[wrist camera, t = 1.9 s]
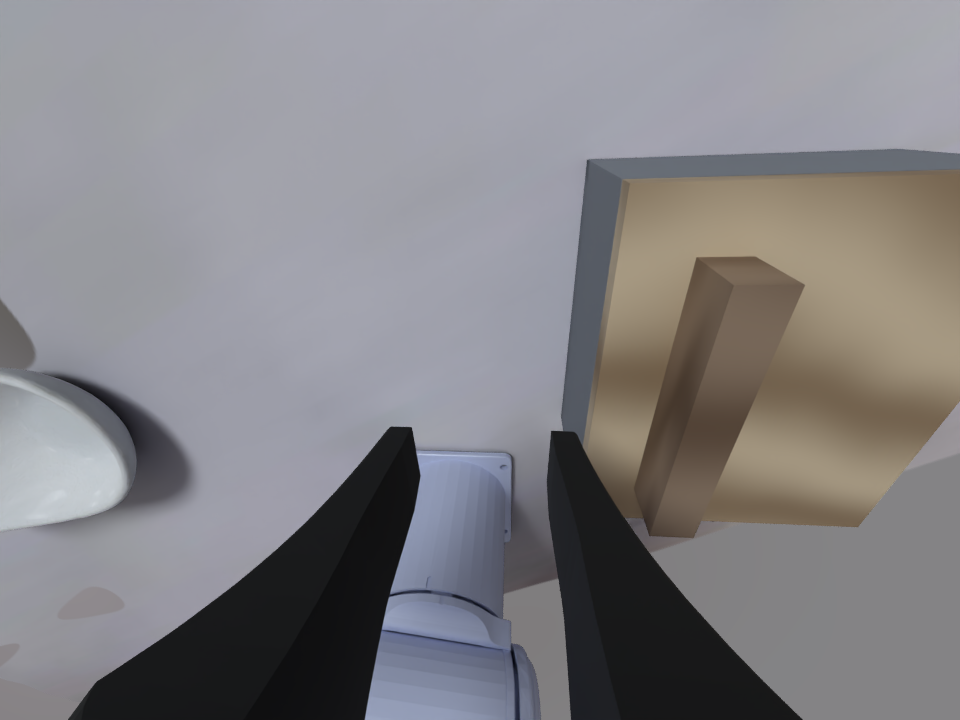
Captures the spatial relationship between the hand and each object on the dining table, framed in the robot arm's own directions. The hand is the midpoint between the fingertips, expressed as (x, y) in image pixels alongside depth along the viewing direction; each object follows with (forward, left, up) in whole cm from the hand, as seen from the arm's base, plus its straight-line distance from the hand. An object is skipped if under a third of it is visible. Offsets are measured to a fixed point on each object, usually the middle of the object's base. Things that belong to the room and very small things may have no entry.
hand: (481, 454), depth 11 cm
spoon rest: (-11, +35, -11) cm, 38 cm away
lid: (0, -10, -4) cm, 11 cm away
